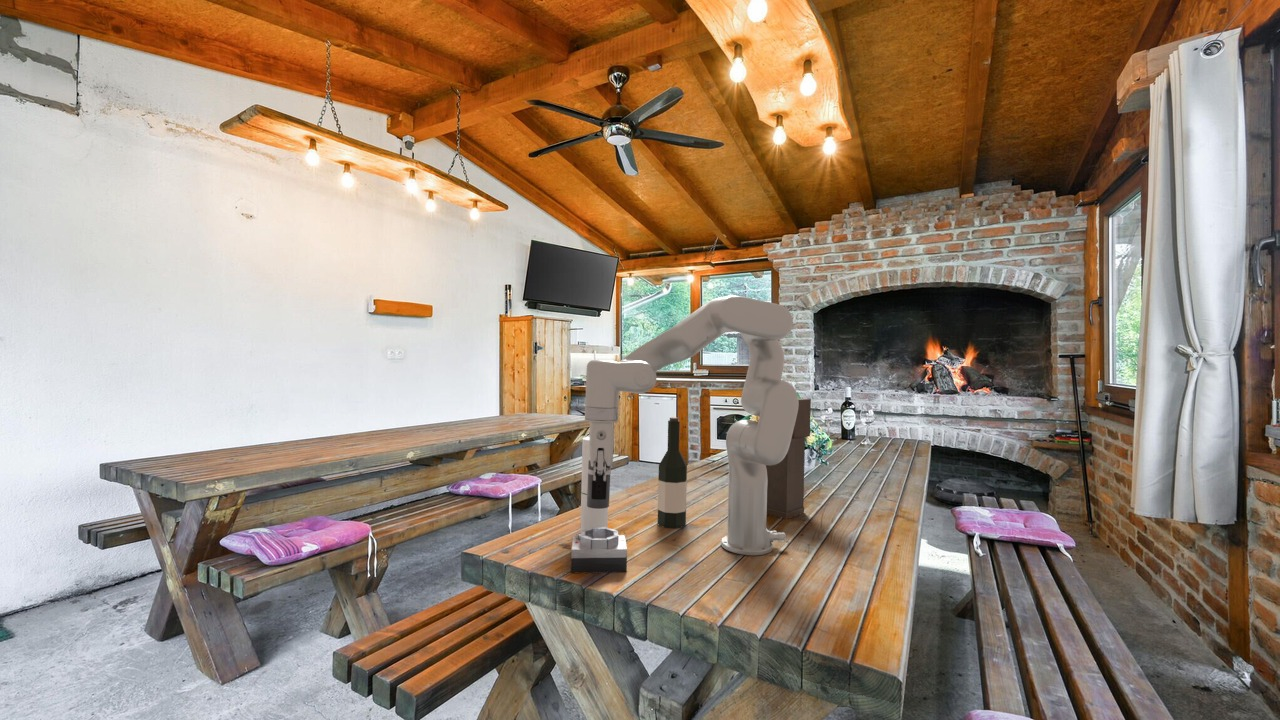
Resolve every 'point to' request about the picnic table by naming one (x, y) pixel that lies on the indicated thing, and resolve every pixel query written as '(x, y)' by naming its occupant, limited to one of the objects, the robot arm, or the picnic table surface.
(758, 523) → the robot arm
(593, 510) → the cylindrical container
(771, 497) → the brown footed pillar
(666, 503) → the wine bottle
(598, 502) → the flashlight
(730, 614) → the picnic table surface
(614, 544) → the octagonal metal flange
